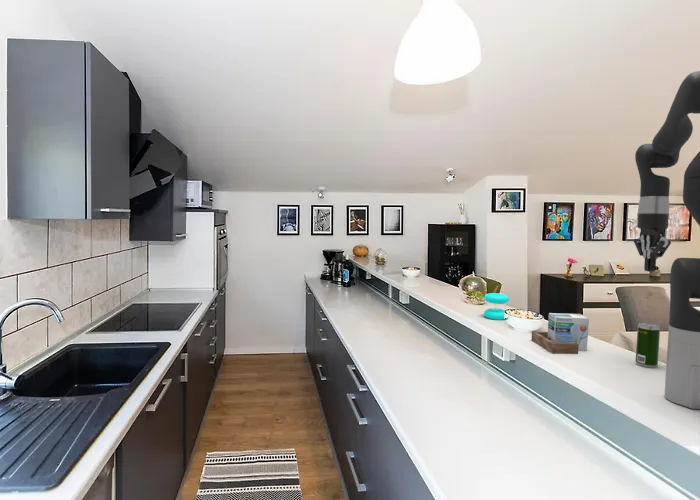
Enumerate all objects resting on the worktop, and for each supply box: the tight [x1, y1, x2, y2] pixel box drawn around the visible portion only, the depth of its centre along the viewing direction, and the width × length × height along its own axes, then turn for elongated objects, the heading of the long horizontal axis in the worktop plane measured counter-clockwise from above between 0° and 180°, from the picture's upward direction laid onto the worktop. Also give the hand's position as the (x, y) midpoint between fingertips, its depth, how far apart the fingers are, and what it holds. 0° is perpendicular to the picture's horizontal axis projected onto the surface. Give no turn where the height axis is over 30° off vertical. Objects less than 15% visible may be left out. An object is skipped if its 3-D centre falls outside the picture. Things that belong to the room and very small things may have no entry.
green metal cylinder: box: [635, 322, 661, 369], centre depth 128 cm, size 5×5×12 cm
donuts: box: [483, 292, 510, 321], centre depth 189 cm, size 10×10×10 cm
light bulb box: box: [547, 312, 590, 352], centre depth 145 cm, size 11×7×11 cm, turn 86°
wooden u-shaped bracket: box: [530, 331, 579, 355], centre depth 146 cm, size 15×8×3 cm, turn 1°
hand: (649, 271), depth 131 cm, fingers closed
